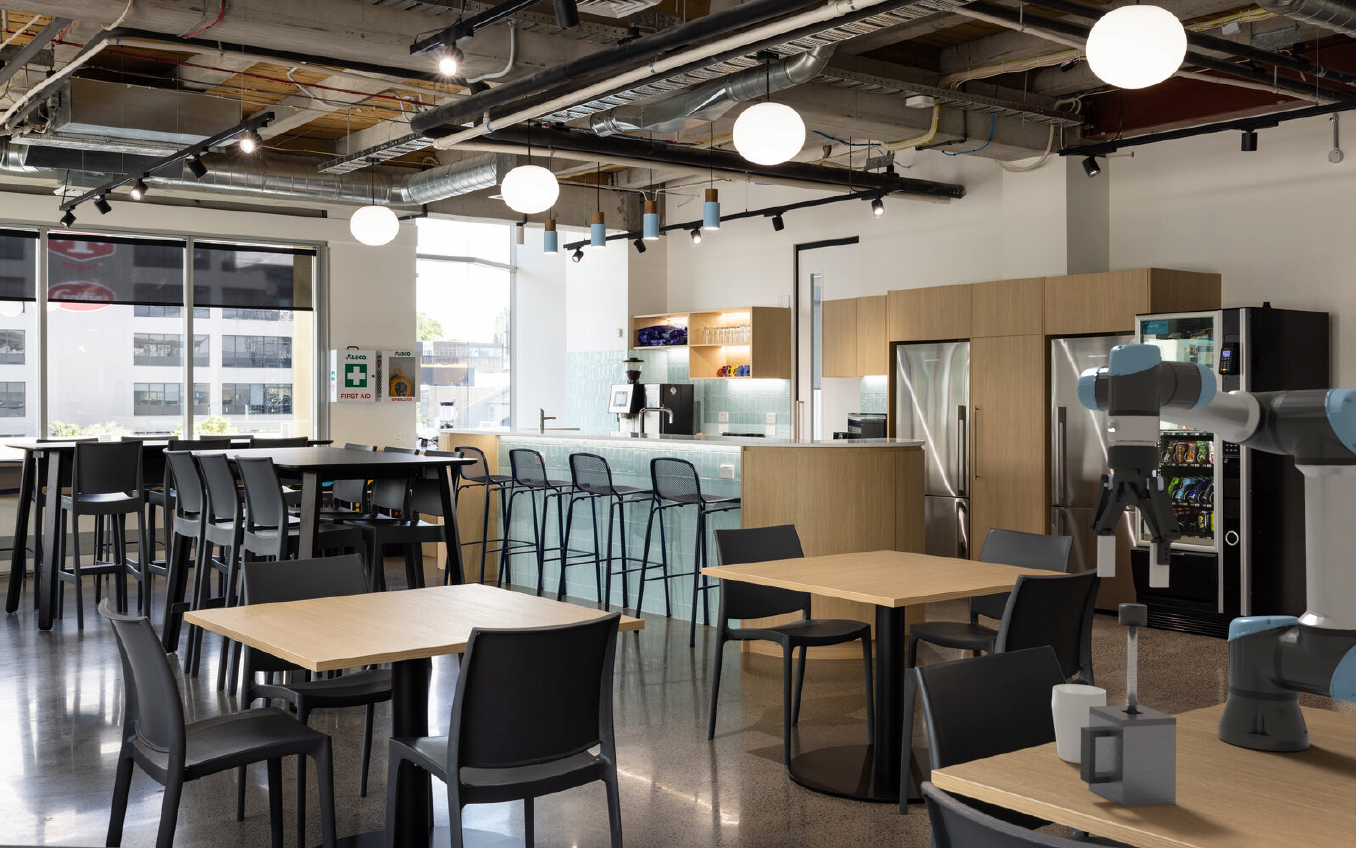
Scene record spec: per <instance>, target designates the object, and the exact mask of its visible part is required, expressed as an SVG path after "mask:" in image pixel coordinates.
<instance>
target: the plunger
mask: <svg viewBox="0 0 1356 848" xmlns="http://www.w3.org/2000/svg"><path fill="white" fill-rule="evenodd" d="M1147 611H1148V606H1147V605H1146V604H1141V603H1132V602H1131V603H1130V602H1129V603H1128V602H1126V603H1125V602H1124V603H1123V602H1122V603H1119V604H1118V624H1119V625H1120V626H1125V627H1127V672H1126V673H1127V674H1126V675H1127V679H1126V680H1127V681H1126V683H1127V685H1126V687H1127V688H1126V689H1127V691H1126V692H1127V693H1126V699H1127V700H1126V705H1127V714H1137V705H1138V628H1140V627H1142V628H1143V627H1147V625H1148V624H1147V621H1148V619H1147V618H1148V615H1147V614H1148V613H1147Z"/></svg>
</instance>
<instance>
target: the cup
mask: <svg viewBox="0 0 1356 848" xmlns="http://www.w3.org/2000/svg"><path fill="white" fill-rule="evenodd" d="M1092 706H1108V704H1107V691H1106V689H1104V688H1102V687H1098V686H1093V685H1089V684H1088V685H1086V684H1078V683H1077V684H1076V683H1075V684H1074V683H1073V684H1072V683H1065V684H1064V683H1063V684H1056V685H1053V686H1052V697H1051V709H1052V710H1051V711H1052V718H1053V719H1052V720H1053V725H1054V733H1055V740H1056V748H1057V755H1058V758H1059V759H1061V760H1062V761H1065V762H1067V763H1071V764H1079V765H1081V727H1089V707H1092Z"/></svg>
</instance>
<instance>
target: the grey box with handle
mask: <svg viewBox="0 0 1356 848" xmlns="http://www.w3.org/2000/svg"><path fill="white" fill-rule="evenodd" d="M1080 780H1081V781H1082V782H1085V783H1086V784H1088V791H1091V792H1092V793H1095V794H1096V795H1098V796H1101V797H1102V798H1104V799H1106V800H1108V801H1109V802H1112V803H1113V804H1115V805H1117V806H1119V807H1121V808H1133V807H1134V808H1135V807H1150V806H1151V807H1152V806H1164V805H1166V806H1167V805H1176V802H1177V800H1176V798H1177V796H1176V795H1177V717H1175V716H1173V715H1170V714H1166V713H1164V712H1161V711H1159V710H1156V709H1152V708H1150V707H1148V706H1145V705H1141V704H1137V714H1127V704H1123V705H1122V704H1121V705H1107V706H1092V707H1089V727H1081V764H1080Z"/></svg>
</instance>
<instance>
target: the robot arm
mask: <svg viewBox="0 0 1356 848" xmlns="http://www.w3.org/2000/svg"><path fill="white" fill-rule="evenodd" d="M1108 359H1109V360H1108V365H1104V364H1103V365H1100V366H1094V367H1089V368H1087V369H1085V370H1084V371H1083V372H1081V374H1080V376H1079V378H1078V380H1077V389H1076V393H1077V396H1078V397H1077V398H1078V399H1079V401H1080V403H1081V404H1082V406H1083V407H1084V408H1085V409H1087V410H1090V411H1099V412H1106V411H1108V412H1107V414H1108V421H1107V422H1108V423H1107V428H1108V430H1107V431H1108V432H1107V440H1108V442H1109V443H1111V445H1108V447H1107V450H1106V451H1107V455H1106V456H1107V458H1106V459H1107V460H1106V461H1107V462H1106V464H1107V465H1106V466H1107V468H1108V469H1110V470H1113V474H1108V473H1107V474H1106V473H1105V474H1104V473H1103V474H1101V475H1100V479H1099V490H1098V493H1097V494H1096V495H1097V496H1096V498H1095V502H1094V505H1093V509H1092V512H1091V515H1090V518H1089V522H1088V525H1087V528H1088V530H1089V531H1093V532H1094V535H1095V536H1096V554H1097V558H1096V559H1097V560H1096V561H1097V562H1096V563H1097V564H1096V566H1097V568H1096V569H1097V572H1096V576H1097V577H1098V578H1099V577H1100V578H1110V577H1112V578H1113V577H1114V578H1116V532H1115V528H1116V527H1117V524H1118V523H1119V521H1120V519H1121V517H1122V515H1123V514H1124V512H1125V510H1126V508H1127V507H1128V506H1130V505H1132V506H1133V505H1134V507H1135V508H1137V509H1138V510H1139V512H1140V513H1141V516H1142V518H1143V520H1144V522H1145V525H1146V527H1147V529H1148V531H1149V533H1150V534H1151V537H1152V538H1151V540H1150V541H1149V587H1150V588H1169V587H1170V585H1169V584H1170V564H1171V544H1172V543H1173V542H1174V541H1180V540H1181V539H1182V534H1181V530H1180V526H1179V523H1178V520H1177V515H1176V513H1175V509H1174V506H1173V503H1172V502H1173V501H1172V499H1171V496H1170V492H1169V480H1168V477H1167V476H1154V475H1153V473H1154V471H1157V470H1159V468H1160V448H1159V446H1156V444H1157V443H1159V442H1160V441H1161V422H1165V423H1169V424H1174V425H1178V426H1183V427H1187V428H1192V429H1194V430H1195V429H1196V430H1200V431H1205V432H1209V433H1211V434H1212V433H1214V434H1216V435H1217V437H1218V438H1220V439H1221V440H1222V441H1224V442H1228V443H1232V444H1236V445H1240V446H1244V447H1247V448H1252V449H1255V450H1259V451H1263V452H1267V453H1272V454H1277V455H1285V456H1286V455H1287V456H1289V455H1290V456H1294V466H1295V467H1296V469H1297V470H1299V471H1300V472H1301V473H1302V474H1303V475H1304V501H1305V502H1304V503H1305V504H1304V506H1305V508H1304V509H1305V514H1304V515H1305V556H1306V557H1305V562H1306V563H1305V564H1306V565H1305V566H1306V567H1305V570H1306V572H1305V573H1306V575H1305V576H1306V611H1305V612H1304V613H1303V614H1302V615H1300V617H1297V616H1292V615H1266V616H1265V615H1260V616H1259V615H1258V616H1255V615H1254V616H1243V617H1236V618H1234V619H1232V621H1231V622H1230V623H1229V630H1228V631H1229V632H1228V639H1227V643H1228V645H1227V646H1228V647H1227V649H1228V650H1227V651H1228V652H1227V653H1228V691H1227V692H1228V696H1227V699H1226V702H1225V704H1224V708H1223V710H1222V714H1221V717H1220V720H1219V721H1218V723H1217V737H1218V738H1219V739H1220V740H1222V741H1223V742H1226V743H1228V744H1232V745H1235V746H1239V747H1244V748H1249V749H1255V750H1262V751H1271V752H1299V751H1301V752H1302V751H1305V750H1308V749H1309V748H1310V732H1309V730H1308V729H1307V725H1306V721H1305V717H1304V714H1303V711H1302V708H1301V706H1300V701H1299V700H1300V699H1299V697H1300V695H1299V694H1300V693H1301V694H1307V695H1312V696H1316V697H1320V698H1324V699H1328V700H1329V699H1330V700H1333V701H1335V702H1338V703H1342V702H1344V703H1345V702H1346V703H1350V704H1351V703H1352V704H1356V388H1341V387H1336V388H1327V389H1326V388H1324V389H1303V390H1302V389H1301V390H1298V389H1296V390H1280V391H1279V390H1277V391H1276V390H1275V391H1263V392H1249V391H1245V390H1238V389H1237V390H1231V391H1229V392H1226V391H1222V390H1218V389H1217V387H1218V380H1217V376H1216V375H1215V372H1214V371H1213V370H1212V369H1211V368H1210V367H1209V366H1208V365H1206V364H1202V363H1198V362H1194V361H1191V360H1190V361H1177V360H1176V361H1175V360H1163V358H1162V355H1161V348H1160V347H1159V346H1157V345H1154V344H1145V343H1137V344H1134V343H1133V344H1132V343H1131V344H1120V345H1115V346H1114V347H1112V348H1111V349H1110V351H1109V358H1108Z"/></svg>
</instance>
